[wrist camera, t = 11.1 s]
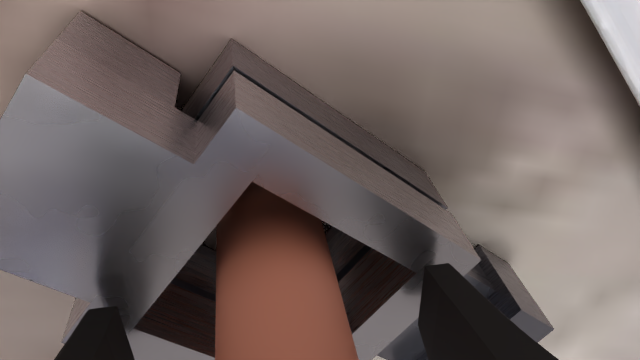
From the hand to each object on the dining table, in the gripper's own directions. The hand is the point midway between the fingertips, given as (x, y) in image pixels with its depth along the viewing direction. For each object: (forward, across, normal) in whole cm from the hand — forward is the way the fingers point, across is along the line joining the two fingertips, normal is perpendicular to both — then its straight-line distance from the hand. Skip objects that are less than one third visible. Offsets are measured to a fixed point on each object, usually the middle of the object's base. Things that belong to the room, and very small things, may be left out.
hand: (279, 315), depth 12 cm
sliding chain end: (+5, +1, -1) cm, 5 cm away
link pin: (+5, 0, 0) cm, 5 cm away
